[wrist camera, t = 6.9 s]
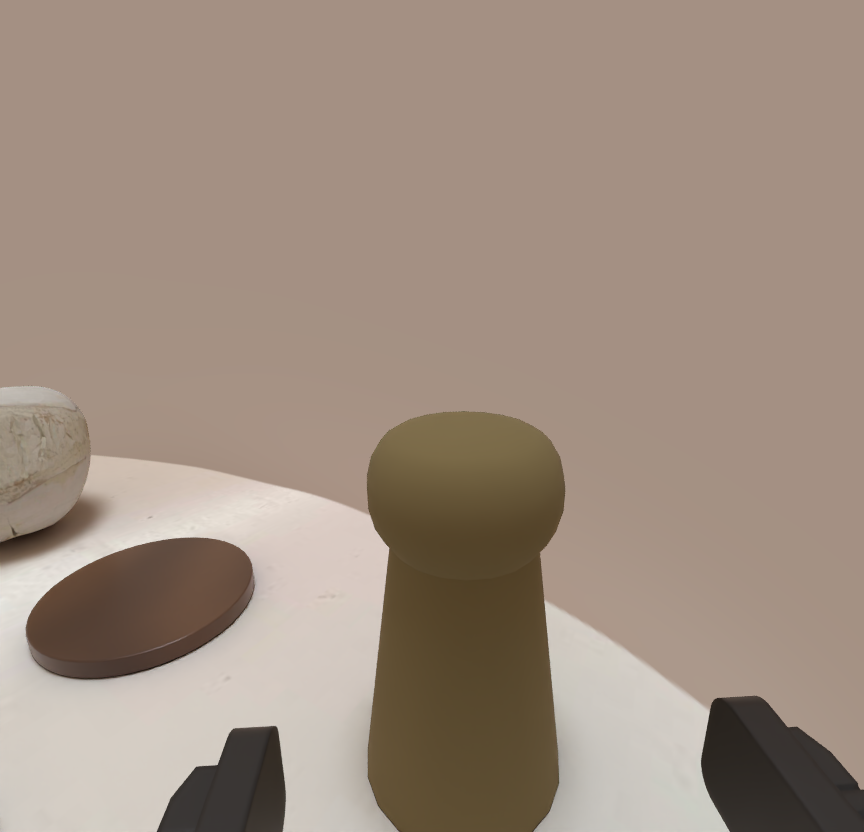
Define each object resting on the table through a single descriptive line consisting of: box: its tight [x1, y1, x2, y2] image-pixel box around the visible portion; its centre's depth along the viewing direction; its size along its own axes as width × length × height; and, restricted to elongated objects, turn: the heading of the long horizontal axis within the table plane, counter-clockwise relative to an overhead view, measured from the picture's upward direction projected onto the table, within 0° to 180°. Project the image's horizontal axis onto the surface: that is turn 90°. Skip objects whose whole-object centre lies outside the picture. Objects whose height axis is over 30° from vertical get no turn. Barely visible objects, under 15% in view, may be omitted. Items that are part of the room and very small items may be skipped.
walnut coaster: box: [26, 538, 254, 678], centre depth 24 cm, size 9×9×1 cm
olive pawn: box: [367, 411, 565, 832], centre depth 15 cm, size 6×6×11 cm
